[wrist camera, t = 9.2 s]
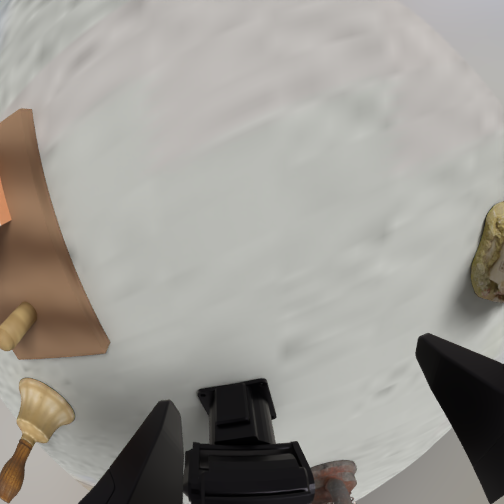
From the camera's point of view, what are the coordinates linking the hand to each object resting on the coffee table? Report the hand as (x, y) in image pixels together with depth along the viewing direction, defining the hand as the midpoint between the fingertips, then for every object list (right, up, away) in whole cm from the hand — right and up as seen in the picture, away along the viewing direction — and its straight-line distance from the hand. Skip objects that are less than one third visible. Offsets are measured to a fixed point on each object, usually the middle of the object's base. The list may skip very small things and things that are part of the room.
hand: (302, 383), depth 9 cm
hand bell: (-27, -14, +16) cm, 34 cm away
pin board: (-22, +4, +9) cm, 24 cm away
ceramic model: (+27, +4, +15) cm, 31 cm away
